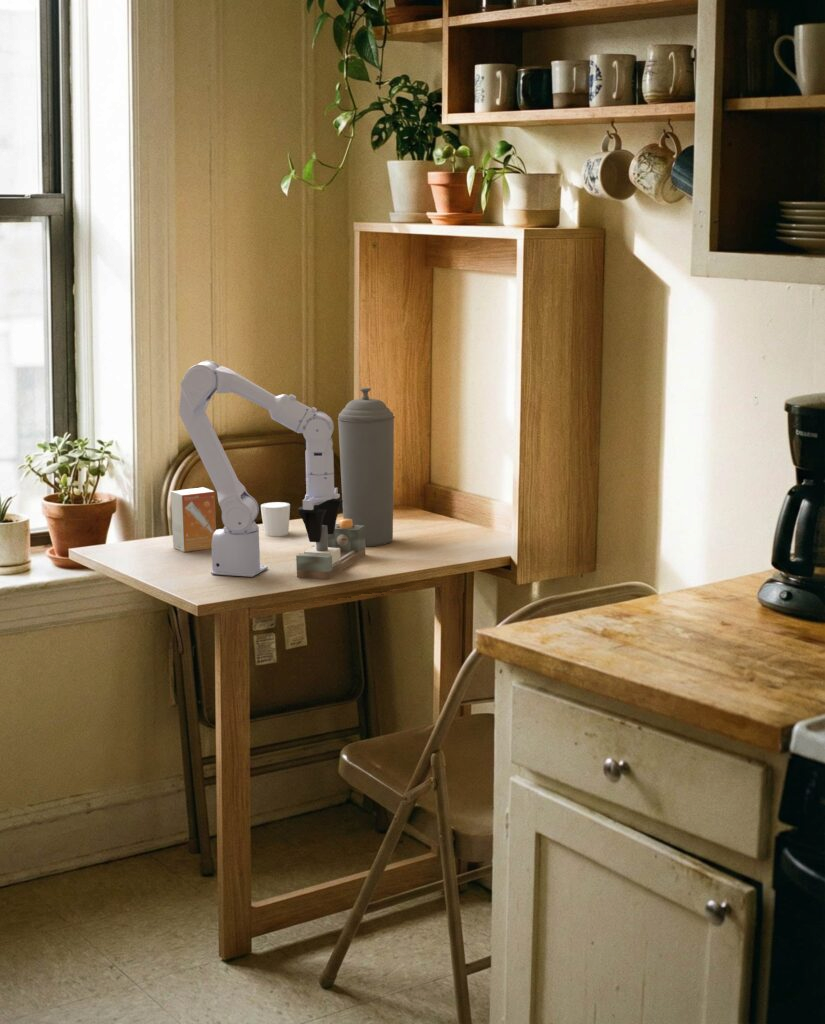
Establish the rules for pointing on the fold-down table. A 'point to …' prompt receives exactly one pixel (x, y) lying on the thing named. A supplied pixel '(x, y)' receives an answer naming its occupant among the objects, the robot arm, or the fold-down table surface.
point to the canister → (368, 466)
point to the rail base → (322, 565)
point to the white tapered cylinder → (275, 518)
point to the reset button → (346, 523)
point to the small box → (193, 518)
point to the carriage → (324, 547)
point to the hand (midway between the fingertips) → (321, 537)
